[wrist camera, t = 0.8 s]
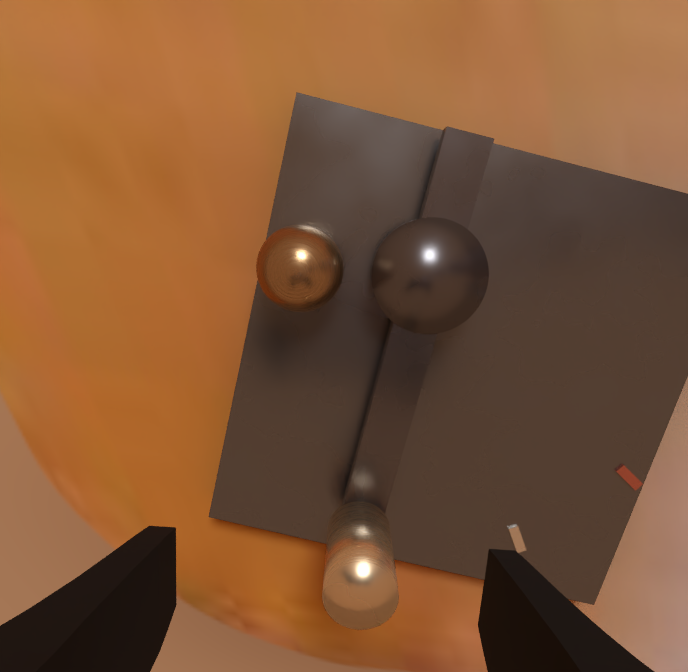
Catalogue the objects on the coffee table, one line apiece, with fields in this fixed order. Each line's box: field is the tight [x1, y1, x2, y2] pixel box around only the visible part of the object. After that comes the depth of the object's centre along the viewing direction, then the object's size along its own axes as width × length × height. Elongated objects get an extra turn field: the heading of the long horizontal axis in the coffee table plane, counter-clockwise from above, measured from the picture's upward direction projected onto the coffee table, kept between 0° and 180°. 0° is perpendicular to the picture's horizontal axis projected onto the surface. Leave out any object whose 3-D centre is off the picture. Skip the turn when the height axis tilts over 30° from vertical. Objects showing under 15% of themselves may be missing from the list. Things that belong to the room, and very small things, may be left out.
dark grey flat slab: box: [209, 93, 688, 605], centre depth 18 cm, size 17×17×4 cm
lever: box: [322, 127, 494, 630], centre depth 16 cm, size 16×4×4 cm, turn 166°
